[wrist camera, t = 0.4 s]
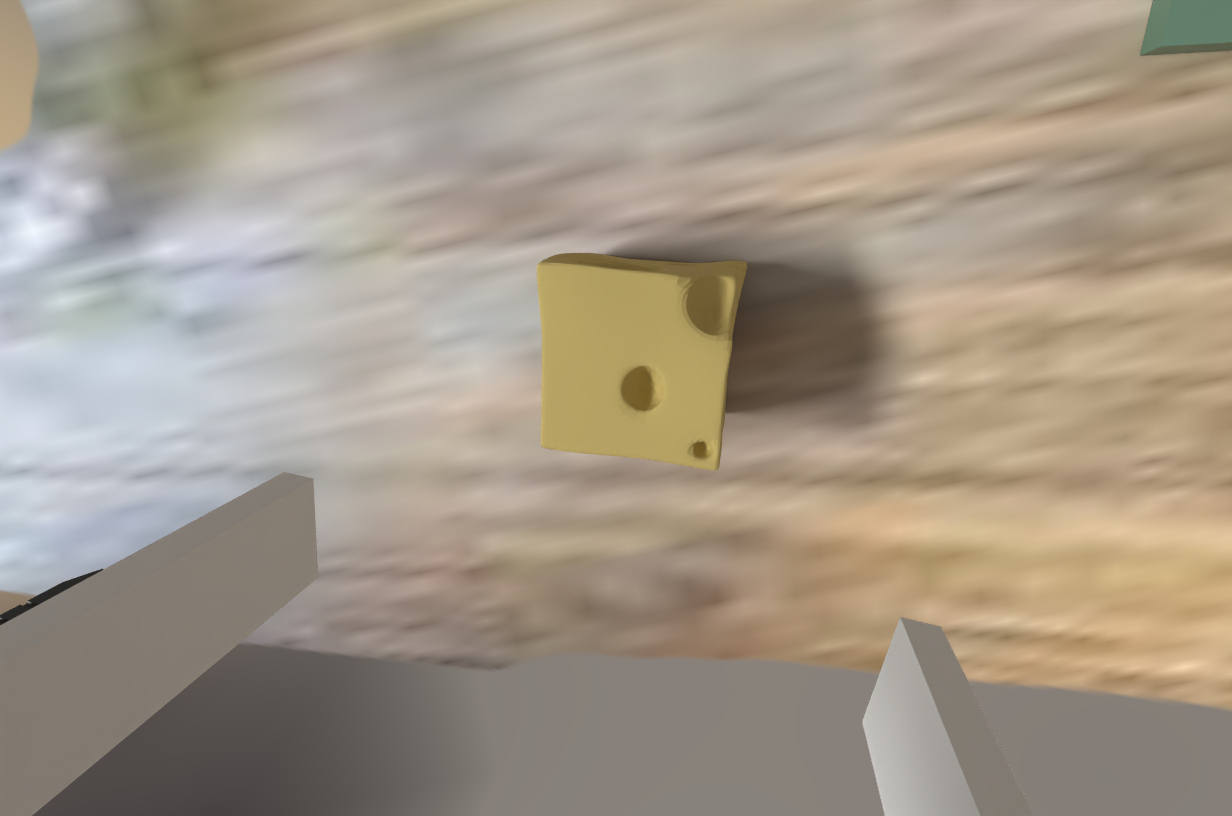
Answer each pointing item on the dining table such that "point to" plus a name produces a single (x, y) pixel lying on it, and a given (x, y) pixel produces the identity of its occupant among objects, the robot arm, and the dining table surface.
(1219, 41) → the header board
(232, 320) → the dining table surface
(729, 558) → the dining table surface
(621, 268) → the cheese
